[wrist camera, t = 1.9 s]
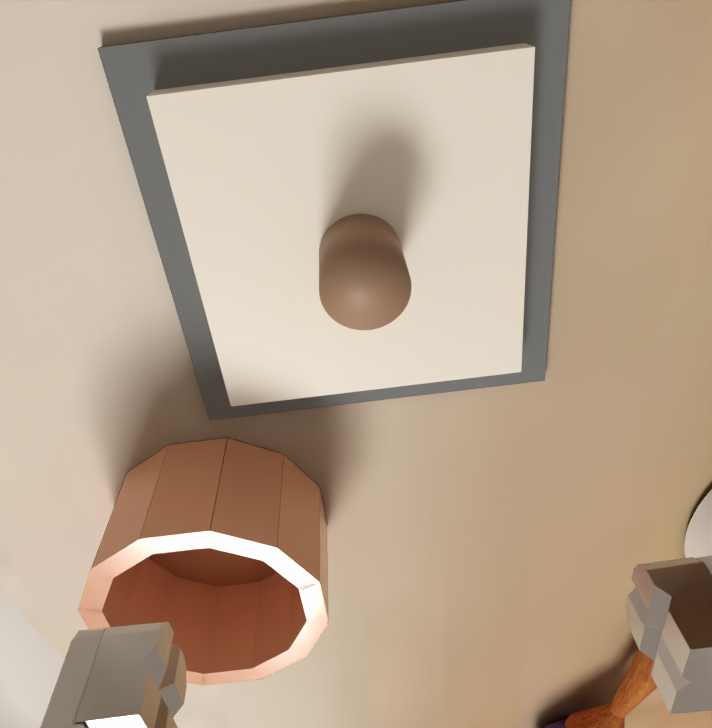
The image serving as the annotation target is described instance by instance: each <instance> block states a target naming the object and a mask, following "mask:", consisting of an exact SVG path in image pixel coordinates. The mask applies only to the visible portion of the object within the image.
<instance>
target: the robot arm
mask: <svg viewBox="0 0 712 728" xmlns="http://www.w3.org/2000/svg"><path fill="white" fill-rule="evenodd" d="M685 557H686V558H682V559H675V560H667V561H660V562H653V563H645V564H638V565H637V566H636V567H635V568H634V570H633V575H632V580H633V582H634V584H635V586H636V588H635V589H634V590H633V591H632V592H631V593H630V594H629V595H628V600H627V606H626V609H627V616H628V623H629V626H630V629H631V632H632V635H633V638H634V640H635V642H636V644H637V646H638V649H639V650H640V651H641V652H642V653H644V654H645V655H646V656H648V657H649V658H650V659H652V660H653V661H654V665H653V669H652V674H651V676H652V678H653V680H654V682H655V684H656V686H657V688H658V690H659V692H660V694H661V696H662V698H663V701H664V703H665V705H666V707H667V709H668V711H669V713H670V714H677V713H688V712H699V711H711V710H712V489H711V491H710V492H709V493H708V494H707V495H706V497H705V498H704V499H703V500H702V502H701V503H700V505H699V506H698V508H697V509H696V511H695V513H694V515H693V517H692V519H691V521H690V523H689V526H688V529H687V532H686V537H685ZM173 635H174V632H173V630H172V628H171V626H170V624H169V622H168V621H167V622H157V623H147V624H137V625H128V626H118V627H106V628H97V629H89V630H80V631H78V633H77V634H76V636H75V637H74V638H73V640H72V641H71V644H70V647H69V649H68V652H67V655H66V658H65V661H64V664H63V666H62V669H61V672H60V675H59V677H58V680H57V683H56V686H55V688H54V691H53V694H52V697H51V700H50V702H49V705H48V708H47V711H46V714H45V716H44V719H43V722H42V725H41V727H40V728H177V726H176V723H175V721H174V719H173V717H174V715H175V714H176V713H177V712H178V710H179V709H180V708H181V707H182V705H183V704H184V698H185V692H186V663H185V658H184V655H183V652H182V650H181V648H180V647H178V646H176V645H174V644H173V643H172V640H173Z"/></svg>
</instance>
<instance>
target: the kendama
mask: <svg viewBox="0 0 712 728" xmlns="http://www.w3.org/2000/svg"><path fill="white" fill-rule="evenodd" d="M653 665H654V661H653V660H652V659H650V658H649V657H648V656H646V655H645V654H644V653H642V652H641V651H640V650H639V649H638V651H637V653H636V655H635V657H634V659H633V661H632V663H631V665H630V667H629V668H628V670H627V672H626V674H625V676H624V678H623V680H622V682H621V684H620V686H619V688H618V690H617V691H616V693H615V695H614V697H613V699H612V701H611V703H610V704H606V705H602V706H598V707H594V708H590V709H586V710H582V711H578V712H575V713H573V714H570V715H569V717H568V718H567V719H564V720H561V721H558V722H555V723H552V724H550V725H547V726H545V727H544V728H624V720H625V716H626V715H627V714H628V713H629V712H630V711H631V710H632V709H634V708H635V707H636V706H637V705H638V704H639V703H640V702H641V701H642V700H644V699H645V698H646V697H647V696H648V695H649V694H650V693H651V692H652V691H654V690H655V689H656V688H657V686H656V684H655V682H654V680H653V678H652V676H651V674H652V669H653Z"/></svg>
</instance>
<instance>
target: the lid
mask: <svg viewBox="0 0 712 728" xmlns="http://www.w3.org/2000/svg"><path fill="white" fill-rule="evenodd" d="M534 60H535V47H534V46H532V45H529V44H527V43H520V44H512V45H504V46H496V47H489V48H481V49H473V50H465V51H457V52H450V53H442V54H434V55H426V56H418V57H410V58H403V59H395V60H387V61H379V62H371V63H363V64H356V65H348V66H340V67H332V68H324V69H316V70H309V71H301V72H293V73H285V74H277V75H269V76H262V77H254V78H246V79H238V80H230V81H222V82H215V83H207V84H199V85H191V86H183V87H176V88H168V89H160V90H154V91H153V92H151V93H150V94H149V95H147V96H146V97H147V101H148V105H149V108H150V112H151V116H152V119H153V123H154V126H155V130H156V134H157V137H158V141H159V145H160V148H161V152H162V156H163V159H164V163H165V167H166V170H167V174H168V178H169V181H170V185H171V189H172V192H173V196H174V200H175V203H176V207H177V211H178V214H179V218H180V222H181V225H182V229H183V233H184V236H185V240H186V244H187V247H188V251H189V255H190V258H191V262H192V266H193V269H194V273H195V276H196V280H197V284H198V287H199V291H200V295H201V298H202V302H203V306H204V309H205V313H206V317H207V320H208V324H209V328H210V331H211V335H212V339H213V342H214V346H215V350H216V353H217V357H218V361H219V364H220V368H221V372H222V375H223V379H224V383H225V386H226V390H227V394H228V397H229V401H230V405H231V406H240V405H248V404H257V403H265V402H273V401H282V400H290V399H299V398H307V397H315V396H324V395H332V394H341V393H349V392H357V391H366V390H374V389H383V388H391V387H400V386H408V385H416V384H425V383H433V382H442V381H450V380H458V379H467V378H475V377H484V376H492V375H501V374H509V373H517V372H521V367H522V343H523V319H524V296H525V272H526V249H527V225H528V202H529V178H530V154H531V131H532V107H533V84H534Z"/></svg>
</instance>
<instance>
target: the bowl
mask: <svg viewBox="0 0 712 728" xmlns="http://www.w3.org/2000/svg"><path fill="white" fill-rule="evenodd" d="M78 611H79V613H80V614H81V616H82V618H83V620H84V622H85V623H86V625H87V627H88V629H97V628H106V627H118V626H128V625H137V624H147V623H157V622H167V621H168V622H169V624H170V626H171V628H172V630H173V632H174V635H173V640H172V643H173V644H174V645H176V646H178V647H180V648H181V650H182V652H183V655H184V658H185V663H186V682H187V683H193V684H198V685H213V684H222V683H231V682H240V681H249V680H258V679H262V678H264V677H266V676H268V675H270V674H272V673H274V672H276V671H278V670H280V669H282V668H284V667H286V666H288V665H291V664H293V663H295V662H297V661H299V660H301V659H303V658H305V657H306V656H307V655H308V653H309V652H310V650H311V648H312V647H313V645H314V644H315V642H316V641H317V639H318V638H319V636H320V635H321V633H322V632H323V630H324V629H325V627H326V626H327V624H328V622H329V618H328V552H327V523H326V518H325V512H324V507H323V502H322V497H321V492H320V488H319V486H317V485H316V484H315V483H314V482H313V481H312V480H311V479H310V478H309V477H308V476H307V475H306V474H304V473H303V472H302V471H301V470H300V469H299V468H298V467H297V466H296V465H295V464H294V463H293V462H291V461H290V460H289V459H288V458H287V457H286V456H285V455H283V454H281V453H277V452H274V451H271V450H267V449H264V448H260V447H257V446H254V445H250V444H247V443H243V442H240V441H236V440H233V439H230V438H228V439H227V438H222V439H214V440H205V441H197V442H188V443H180V444H171V445H168V446H166V447H165V448H163V449H162V450H160V451H159V452H157V453H156V454H154V455H153V456H151V457H150V458H148V459H147V460H145V461H144V462H142V463H141V464H139V465H138V466H136V467H135V468H133V469H132V470H130V471H129V472H127V474H126V477H125V479H124V482H123V485H122V487H121V490H120V493H119V495H118V498H117V501H116V503H115V506H114V509H113V511H112V514H111V517H110V519H109V522H108V525H107V527H106V530H105V533H104V535H103V538H102V541H101V543H100V546H99V549H98V551H97V554H96V557H95V559H94V562H93V565H92V567H91V570H90V573H89V576H88V580H87V583H86V586H85V589H84V592H83V595H82V598H81V602H80V605H79V608H78Z"/></svg>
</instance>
